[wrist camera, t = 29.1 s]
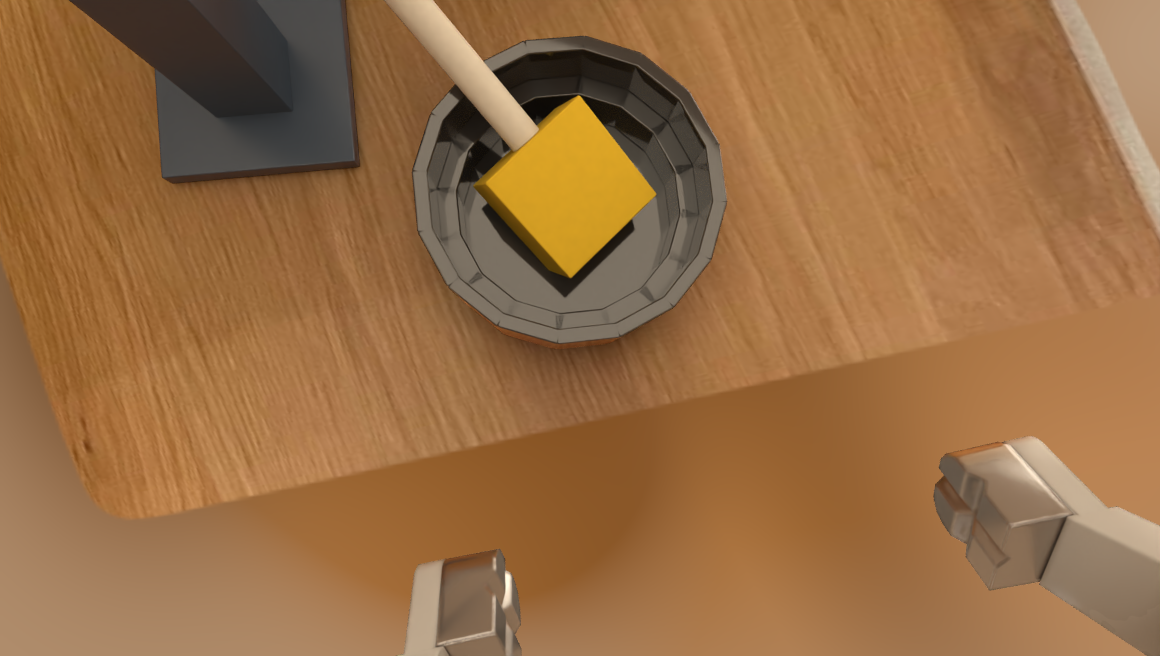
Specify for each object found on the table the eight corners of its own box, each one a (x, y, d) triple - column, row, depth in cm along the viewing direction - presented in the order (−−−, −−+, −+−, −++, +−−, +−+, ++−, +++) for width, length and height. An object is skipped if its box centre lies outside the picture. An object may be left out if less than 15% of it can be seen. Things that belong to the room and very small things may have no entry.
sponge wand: (365, -180, 24) (366, -129, 28) (247, -82, 24) (265, -43, 28) (657, 194, 31) (627, 195, 35) (570, 279, 30) (549, 271, 34)
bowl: (709, 333, 35) (743, 324, 29) (449, 361, 34) (429, 358, 28) (677, 84, 36) (704, 25, 30) (424, 105, 35) (399, 49, 29)
